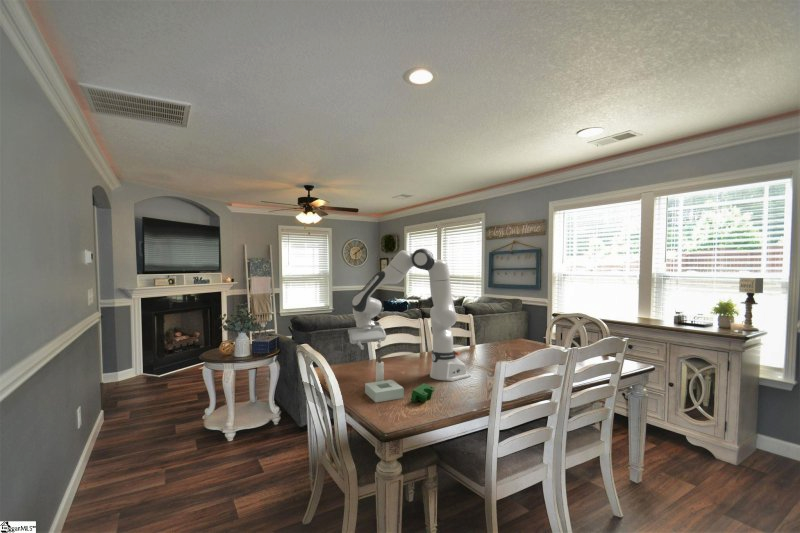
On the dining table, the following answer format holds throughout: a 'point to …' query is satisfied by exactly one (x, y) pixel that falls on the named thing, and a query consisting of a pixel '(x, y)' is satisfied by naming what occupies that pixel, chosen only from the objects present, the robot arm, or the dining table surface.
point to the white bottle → (379, 370)
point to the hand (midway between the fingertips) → (371, 348)
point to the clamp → (422, 393)
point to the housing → (384, 390)
